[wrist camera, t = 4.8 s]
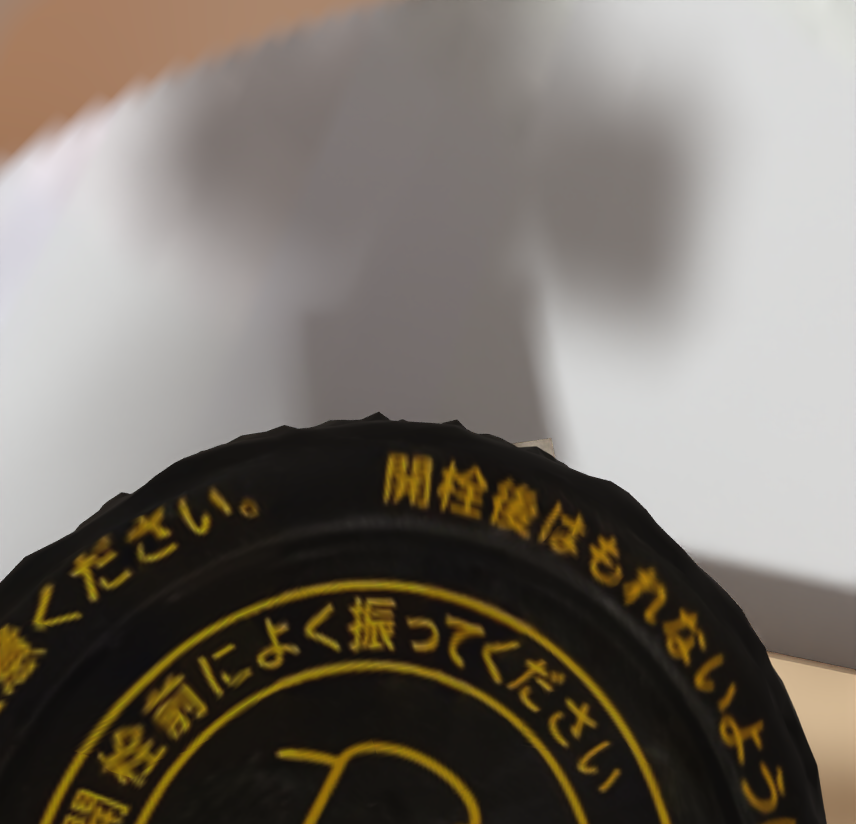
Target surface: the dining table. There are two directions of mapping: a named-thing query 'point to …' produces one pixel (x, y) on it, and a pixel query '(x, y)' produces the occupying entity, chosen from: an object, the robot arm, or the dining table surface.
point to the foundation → (826, 726)
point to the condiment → (386, 649)
